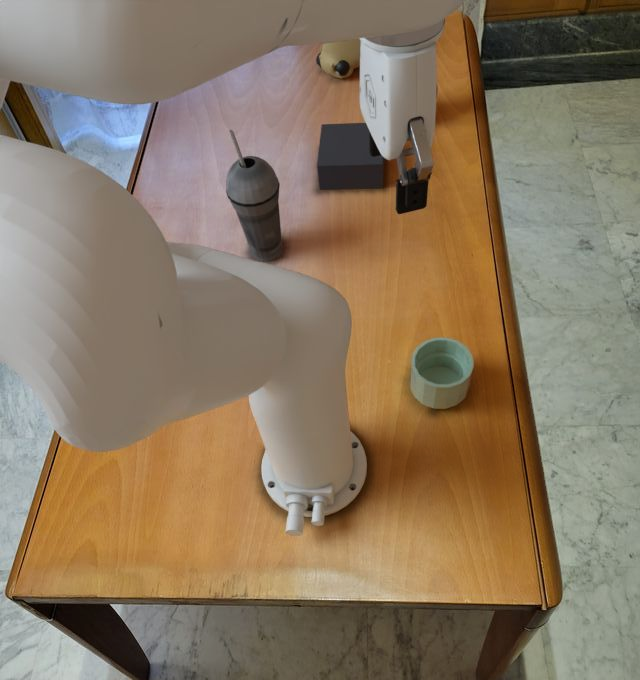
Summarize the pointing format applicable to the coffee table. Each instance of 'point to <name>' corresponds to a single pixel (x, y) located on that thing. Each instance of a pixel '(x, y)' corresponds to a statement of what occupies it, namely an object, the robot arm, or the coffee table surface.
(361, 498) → the coffee table surface
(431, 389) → the bowl
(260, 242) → the beverage cup
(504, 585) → the coffee table surface
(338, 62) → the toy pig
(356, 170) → the block
